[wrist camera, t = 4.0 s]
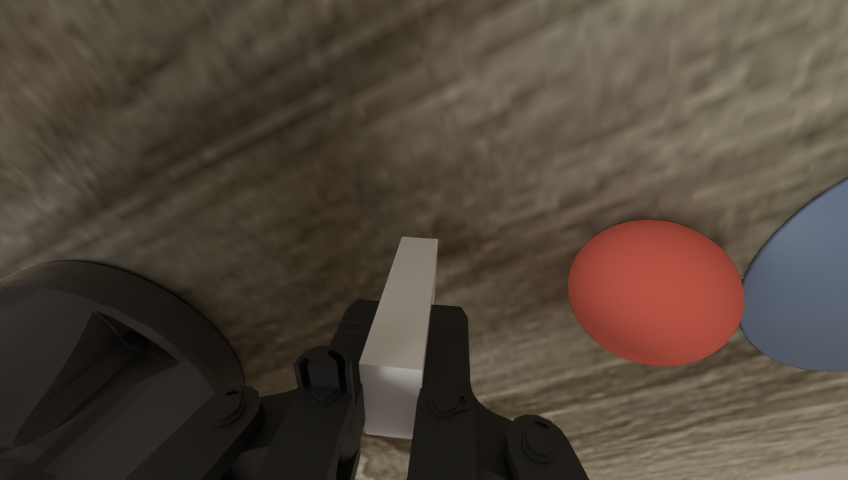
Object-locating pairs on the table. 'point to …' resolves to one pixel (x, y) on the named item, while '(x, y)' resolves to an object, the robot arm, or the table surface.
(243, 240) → the table surface
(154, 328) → the robot arm
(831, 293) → the blue disc
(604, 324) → the ball
